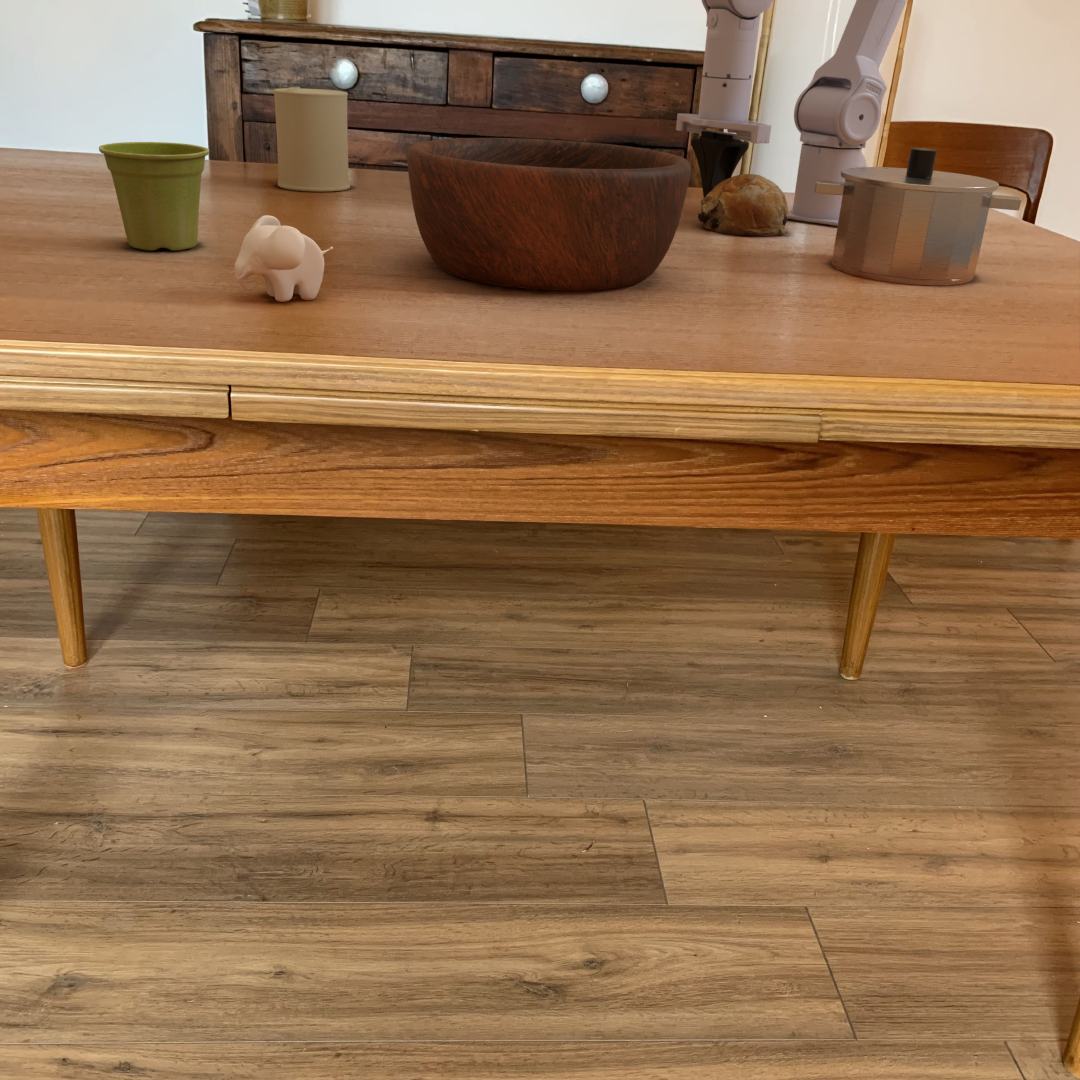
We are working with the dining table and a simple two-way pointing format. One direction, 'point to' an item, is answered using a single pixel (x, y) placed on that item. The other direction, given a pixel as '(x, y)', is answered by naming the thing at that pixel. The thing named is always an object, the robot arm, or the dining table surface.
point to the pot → (910, 232)
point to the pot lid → (920, 176)
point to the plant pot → (157, 191)
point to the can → (312, 139)
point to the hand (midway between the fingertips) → (713, 201)
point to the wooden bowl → (546, 210)
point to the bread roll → (745, 207)
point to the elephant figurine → (280, 260)
